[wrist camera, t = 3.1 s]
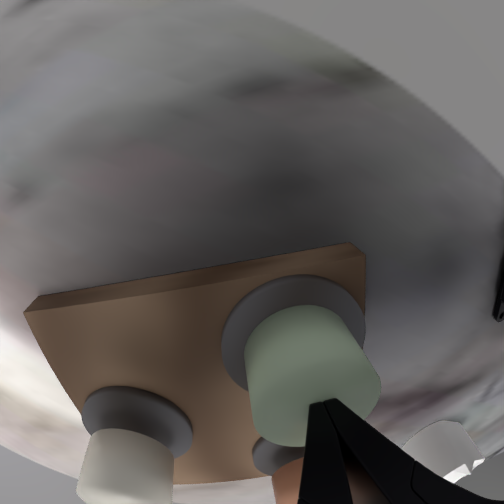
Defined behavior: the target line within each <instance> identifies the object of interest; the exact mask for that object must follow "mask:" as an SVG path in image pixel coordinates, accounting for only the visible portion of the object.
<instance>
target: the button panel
mask: <svg viewBox="0 0 504 504" xmlns="http://www.w3.org/2000/svg"><path fill="white" fill-rule="evenodd" d="M365 282H366V255H365V254H364V253H363V252H361V251H360V250H359V249H358V248H356V247H355V246H354V245H353V244H352V243H350V242H348V243H343V244H337V245H332V246H326V247H321V248H315V249H310V250H304V251H299V252H293V253H288V254H282V255H277V256H271V257H265V258H260V259H254V260H249V261H243V262H237V263H232V264H226V265H220V266H215V267H209V268H203V269H198V270H192V271H186V272H180V273H175V274H169V275H163V276H157V277H151V278H146V279H140V280H134V281H128V282H122V283H116V284H110V285H104V286H98V287H92V288H87V289H81V290H75V291H68V292H62V293H56V294H50V295H44V296H38V297H37V298H36V299H35V300H34V301H33V302H32V303H31V304H30V306H29V307H28V308H27V309H26V310H25V311H24V312H23V313H24V316H25V318H26V320H27V322H28V324H29V326H30V328H31V330H32V332H33V335H34V337H35V338H36V340H37V342H38V344H39V346H40V348H41V350H42V352H43V354H44V356H45V357H46V359H47V361H48V363H49V364H50V366H51V368H52V370H53V371H54V373H55V375H56V376H57V378H58V380H59V381H60V383H61V385H62V386H63V388H64V389H65V391H66V393H67V394H68V396H69V397H70V399H71V400H72V402H73V403H74V405H75V406H76V408H77V409H78V411H79V412H80V413H81V416H82V421H83V424H84V426H85V428H86V429H87V431H88V432H89V433H90V435H91V436H92V434H93V433H95V432H96V431H98V430H102V429H109V428H114V429H124V430H129V431H133V432H137V433H140V434H143V435H146V436H148V437H151V438H153V439H155V440H157V441H158V442H160V443H162V444H163V445H164V446H166V447H167V448H168V449H169V450H170V451H171V453H172V454H173V456H174V474H173V484H200V483H215V482H226V481H235V480H244V479H251V478H258V477H264V476H273V474H274V473H275V472H276V471H277V470H278V469H279V468H281V467H282V466H284V465H286V464H287V463H290V462H292V461H294V460H297V459H300V458H303V457H304V449H305V446H303V447H290V446H282V445H278V444H275V443H272V442H270V441H268V440H266V439H265V438H263V437H262V436H261V435H260V434H259V433H258V432H257V430H256V429H255V426H254V423H253V417H252V410H251V403H250V396H249V389H248V382H247V375H246V368H245V361H244V350H245V345H246V343H247V340H248V338H249V336H250V335H251V333H252V332H253V330H254V329H255V328H256V327H257V326H258V325H259V324H260V323H261V322H262V321H263V320H265V319H266V318H268V317H269V316H271V315H272V314H274V313H276V312H278V311H281V310H283V309H286V308H290V307H293V306H300V305H315V306H320V307H324V308H327V309H329V310H331V311H333V312H334V313H336V314H337V315H338V316H339V317H340V318H341V319H342V320H343V322H344V323H345V325H346V326H347V328H348V329H349V331H350V332H351V334H352V335H353V337H354V338H355V340H356V341H357V343H358V345H359V346H360V348H361V349H362V350H363V343H364V340H365V333H366V326H365V319H364V316H365Z"/></svg>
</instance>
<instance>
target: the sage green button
mask: <svg viewBox="0 0 504 504" xmlns="http://www.w3.org/2000/svg"><path fill="white" fill-rule="evenodd" d="M244 361H245V368H246V375H247V382H248V389H249V396H250V403H251V410H252V417H253V423H254V426H255V429H256V430H257V432H258V433H259V434H260V435H261V436H262V437H263V438H265V439H266V440H268V441H270V442H272V443H275V444H278V445H282V446H290V447H303V446H305V441H306V431H307V422H308V411H309V405H310V404H312V403H316V402H320V401H321V402H323V401H324V400H328V399H332V398H337V399H339V400H340V401H341V402H342V403H343V404H345V405H346V406H347V407H348V408H350V409H351V410H352V411H353V412H355V413H356V414H357V415H358V416H359V417H361V418H362V419H363V420H364V419H365V418H366V417H367V416H368V415H369V414H370V413H371V411H372V410H373V409H374V407H375V405H376V404H377V402H378V399H379V397H380V393H381V381H380V378H379V376H378V374H377V373H376V371H375V370H374V368H373V366H372V365H371V363H370V362H369V360H368V359H367V357H366V355H365V354H364V352H363V351H362V349H361V348H360V346H359V345H358V343H357V341H356V340H355V338H354V337H353V335H352V334H351V332H350V331H349V329H348V328H347V326H346V325H345V323H344V322H343V320H342V319H341V318H340V317H339V316H338V315H337V314H336V313H334V312H333V311H331V310H329V309H327V308H324V307H320V306H315V305H300V306H293V307H290V308H286V309H283V310H281V311H278V312H276V313H274V314H272V315H271V316H269V317H268V318H266V319H265V320H263V321H262V322H261V323H260V324H259V325H258V326H257V327H256V328H255V329H254V330H253V332H252V333H251V335H250V336H249V338H248V340H247V343H246V345H245V350H244Z"/></svg>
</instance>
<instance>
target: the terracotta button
mask: <svg viewBox="0 0 504 504" xmlns="http://www.w3.org/2000/svg"><path fill="white" fill-rule="evenodd" d="M303 458H304V457H303ZM303 458H300V459H297V460H294V461H292V462H290V463H287V464H286V465H284V466H282V467H281V468H279V469H278V470H277V471H276V472H275V473H274V474H273V476H272V484H273V489H274V495H275V500H276V504H297V501H298V495H299V488H300V481H301V474H302V466H303Z"/></svg>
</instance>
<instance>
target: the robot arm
mask: <svg viewBox="0 0 504 504" xmlns="http://www.w3.org/2000/svg"><path fill="white" fill-rule="evenodd" d="M494 319H495V320H496V321H497V322H501V321H502V320H504V271H503V277H502V282H501V286H500V291H499V296H498V300H497V304H496V308H495V312H494ZM297 504H504V501H499V500H491V499H487V498H484V497H481V496H479V495H476V494H474V493H472V492H470V491H468V490H466V489H464V488H462V487H460V486H458V485H456V484H454V483H452V482H450V481H448V480H446V479H444V478H442V477H441V476H439V475H437V474H435V473H434V472H432V471H431V470H429V469H428V468H426V467H425V466H424V465H422V464H421V463H420V462H418V461H417V460H415V459H414V458H413V457H411V456H410V455H409V454H407V453H406V452H405V451H403V450H402V449H401V448H399V447H398V446H397V445H395V444H394V443H393V442H391V441H390V440H389V439H387V438H386V437H385V436H384V435H382V434H381V433H380V432H378V431H377V430H376V429H375V428H373V427H372V426H371V425H370V424H368V423H367V422H366V421H365V420H363V419H362V418H361V417H359V416H358V415H357V414H356V413H355V412H353V411H352V410H351V409H350V408H348V407H347V406H346V405H345V404H343V403H342V402H341V401H340V400H339V399H337V398H332V399H328V400H324V401H323V402H321V401H320V402H316V403H312V404H310V405H309V411H308V422H307V431H306V441H305V449H304V458H303V466H302V474H301V481H300V488H299V495H298V501H297Z"/></svg>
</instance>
